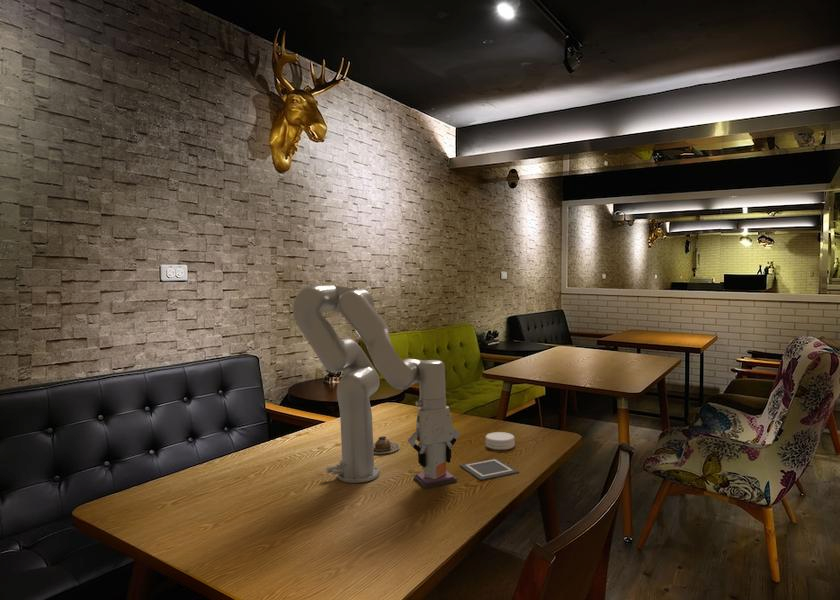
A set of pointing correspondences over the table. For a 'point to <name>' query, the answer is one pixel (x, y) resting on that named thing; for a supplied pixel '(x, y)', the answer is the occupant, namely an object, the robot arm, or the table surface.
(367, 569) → the table surface
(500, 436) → the white round disc
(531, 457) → the table surface
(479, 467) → the mat
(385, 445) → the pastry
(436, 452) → the skincare box
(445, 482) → the ink pad
